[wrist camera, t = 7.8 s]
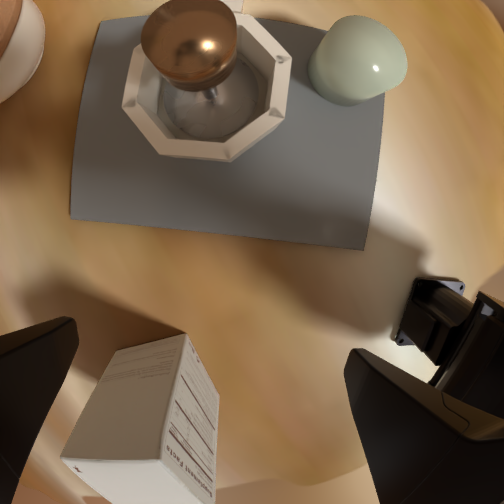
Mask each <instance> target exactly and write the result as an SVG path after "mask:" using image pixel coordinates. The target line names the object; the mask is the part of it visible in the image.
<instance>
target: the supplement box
mask: <svg viewBox="0 0 504 504" xmlns="http://www.w3.org/2000/svg"><path fill="white" fill-rule="evenodd" d="M218 412H219V394H218V392H217V390H216V388H215V387H214V385H213V383H212V381H211V379H210V377H209V376H208V374H207V372H206V370H205V368H204V366H203V364H202V362H201V360H200V358H199V356H198V354H197V352H196V351H195V349H194V347H193V345H192V343H191V341H190V339H189V337H188V335H187V334H186V333H184V334H181V335H177V336H173V337H169V338H165V339H162V340H158V341H154V342H150V343H146V344H142V345H138V346H134V347H130V348H126V349H122V350H117V351H116V352H115V354H114V355H113V357H112V359H111V361H110V362H109V364H108V366H107V368H106V369H105V371H104V373H103V375H102V376H101V378H100V380H99V382H98V384H97V385H96V387H95V389H94V391H93V393H92V394H91V396H90V398H89V400H88V402H87V404H86V406H85V408H84V410H83V411H82V413H81V415H80V417H79V419H78V421H77V423H76V425H75V427H74V429H73V431H72V433H71V435H70V437H69V439H68V441H67V443H66V445H65V447H64V449H63V451H62V453H61V455H60V458H61V459H62V461H63V462H64V463H65V464H66V465H67V466H68V467H69V468H70V469H71V470H72V471H73V472H74V473H75V474H76V475H77V476H79V477H80V478H81V479H82V480H83V481H84V482H86V483H87V484H88V485H89V486H90V487H92V488H93V489H94V490H95V491H97V492H98V493H99V494H100V495H102V496H103V497H104V498H106V499H107V500H108V501H110V502H111V503H112V504H215V486H216V452H217V431H218Z"/></svg>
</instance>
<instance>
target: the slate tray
mask: <svg viewBox="0 0 504 504" xmlns="http://www.w3.org/2000/svg"><path fill="white" fill-rule="evenodd" d="M149 16H150V15H149ZM149 16H137V17H128V18H120V19H113V20H106V21H101V24H100V27H99V30H98V33H97V37H96V40H95V43H94V47H93V51H92V54H91V58H90V62H89V66H88V70H87V75H86V79H85V84H84V89H83V94H82V99H81V104H80V110H79V116H78V123H77V130H76V138H75V147H74V156H73V168H72V184H71V219H75V220H86V221H97V222H108V223H119V224H129V225H139V226H150V227H160V228H169V229H179V230H189V231H198V232H208V233H217V234H226V235H235V236H244V237H253V238H262V239H271V240H280V241H288V242H297V243H305V244H314V245H322V246H330V247H338V248H346V249H354V250H362V251H364V246H365V241H366V236H367V231H368V226H369V221H370V215H371V209H372V203H373V197H374V191H375V184H376V177H377V170H378V162H379V154H380V145H381V136H382V125H383V113H384V98H385V92H384V93H381V94H379V95H377V96H375V97H373V98H371V99H369V100H367V101H365V102H363V103H361V104H358V105H355V106H349V107H347V106H339V105H336V104H333V103H331V102H329V101H327V100H326V99H324V98H323V97H322V96H320V95H319V94H318V93H317V91H316V90H315V89H314V88H313V86H312V84H311V82H310V80H309V76H308V71H307V69H308V62H309V59H310V57H311V55H312V54H313V52H314V51H315V50H316V48H317V47H318V45H319V44H320V42H321V41H322V39H323V38H324V37H325V35H326V34H327V32H328V31H325V30H321V29H317V28H313V27H308V26H303V25H298V24H293V23H287V22H282V21H275V20H269V19H261V18H254V19H255V20H256V21H257V22H258V23H259V24H260V25H262V26H263V27H264V28H265V29H266V30H267V32H268V33H269V34H270V35H271V36H272V37H273V38H274V39H275V40H276V41H277V42H278V43H279V44H280V45H281V46H282V47H283V48H284V49H285V50H286V52H287V53H288V54H289V55H290V56H291V57H292V62H291V70H290V79H289V87H288V95H287V104H286V112H285V119H284V120H283V121H282V122H281V123H280V124H279V125H278V126H277V128H276V129H275V130H273V131H272V132H271V133H269V134H268V135H266V136H265V137H264V138H262V139H261V140H260V141H258V142H257V143H256V144H255V145H253V146H252V147H251V148H249V149H248V150H246V151H245V152H244V153H242V154H241V155H240V156H238V157H237V158H236V159H234V160H233V161H232V162H231V163H230V162H222V161H212V160H200V159H188V158H175V157H170V156H165V155H159V153H158V152H157V151H156V150H155V148H154V147H153V146H152V145H151V143H150V142H149V141H148V140H147V138H146V137H145V136H144V135H143V134H142V132H141V131H140V130H139V129H138V127H137V126H136V125H135V124H134V122H133V121H132V120H131V119H130V117H129V116H128V115H127V114H126V112H125V111H124V110H123V109H122V101H123V96H124V90H125V85H126V80H127V75H128V71H129V66H130V62H131V57H132V53H133V49H134V48H135V47H136V46H138V45H139V44H140V43H141V32H142V29H143V26H144V24H145V22H146V20H147V19H148V18H149Z"/></svg>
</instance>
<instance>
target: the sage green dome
mask: <svg viewBox="0 0 504 504" xmlns="http://www.w3.org/2000/svg"><path fill="white" fill-rule="evenodd" d="M307 71H308V76H309V80H310V82H311V84H312V86H313V88H314V89H315V90H316V91H317V93H318V94H319V95H320V96H322V97H323V98H324V99H326V100H327V101H329V102H331V103H333V104H336V105H339V106H347V107H349V106H355V105H358V104H361V103H363V102H365V101H367V100H369V99H371V98H373V97H375V96H377V95H379V94H381V93H384V92H386V91H388V90H390V89H392V88H394V87H396V86H398V85H399V84H400V83H401V82H402V81H403V79H404V77H405V75H406V72H407V57H406V54H405V51H404V48H403V46H402V44H401V43H400V41H399V40H398V38H397V37H396V36H395V35H394V33H393V32H392V31H391V30H389V29H388V28H387V27H386V26H384V25H383V24H381V23H380V22H378V21H376V20H374V19H371V18H368V17H365V16H357V15H354V16H346V17H343V18H341V19H339V20H338V21H336V22H335V23H334V24H333V25H332V27H331V28H330V30H329V31H328V32H327V34H326V35H325V37H324V38H323V39H322V41H321V42H320V44H319V45H318V47H317V48H316V50H315V51H314V52H313V54H312V55H311V57H310V59H309V62H308V69H307Z"/></svg>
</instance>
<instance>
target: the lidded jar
mask: <svg viewBox="0 0 504 504" xmlns="http://www.w3.org/2000/svg"><path fill="white" fill-rule="evenodd" d="M44 41H45V23H44V19H43V16H42V13H41V12H40V10H39V9H38V7H37V6H36V4H35V3H34V2H33V1H32V0H0V103H2V102H3V101H5V100H6V99H8V98H9V97H11V96H12V95H13V94H14V93H15V92H17V91H18V90H19V89H20V88H21V87H23V86H24V85H25V84H26V83H27V82H28V81H29V80H30V78H31V77H32V76H33V74H34V73H35V71H36V69H37V68H38V66H39V64H40V61H41V59H42V55H43V51H44Z"/></svg>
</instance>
